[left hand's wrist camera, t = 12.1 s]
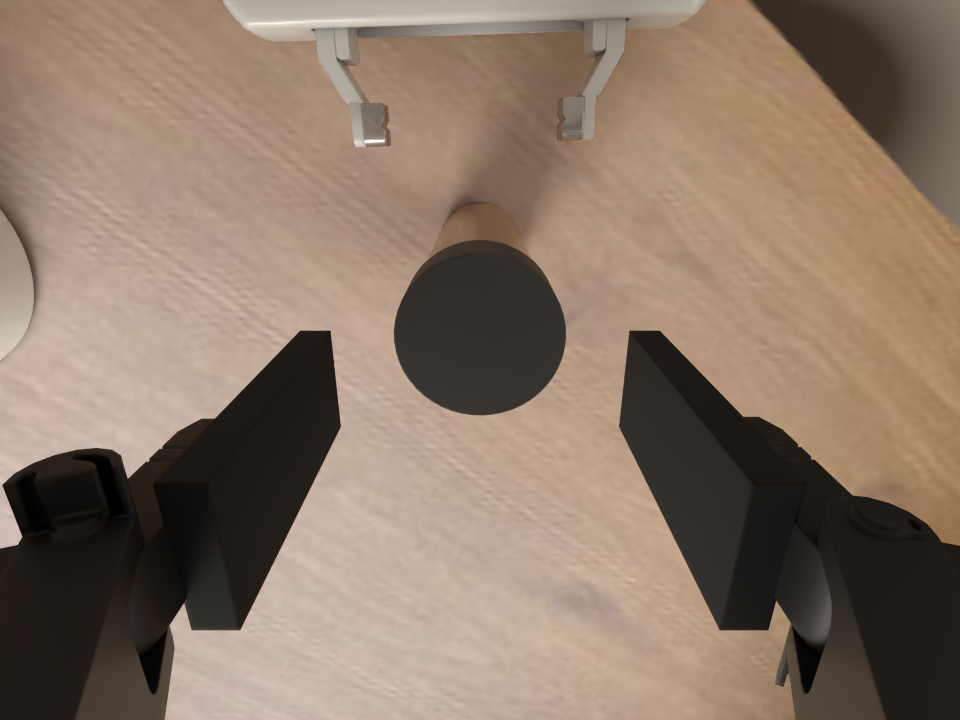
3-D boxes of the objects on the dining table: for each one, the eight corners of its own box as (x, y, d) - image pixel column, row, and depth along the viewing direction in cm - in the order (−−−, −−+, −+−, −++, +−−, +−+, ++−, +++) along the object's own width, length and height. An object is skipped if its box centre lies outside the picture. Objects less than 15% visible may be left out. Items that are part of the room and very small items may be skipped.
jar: (507, 192, 32) (534, 237, 16) (529, 271, 34) (572, 381, 18) (429, 216, 32) (380, 284, 17) (453, 293, 34) (431, 419, 18)
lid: (534, 219, 18) (542, 230, 16) (571, 363, 20) (583, 391, 18) (382, 265, 18) (368, 282, 16) (432, 401, 20) (426, 433, 18)
